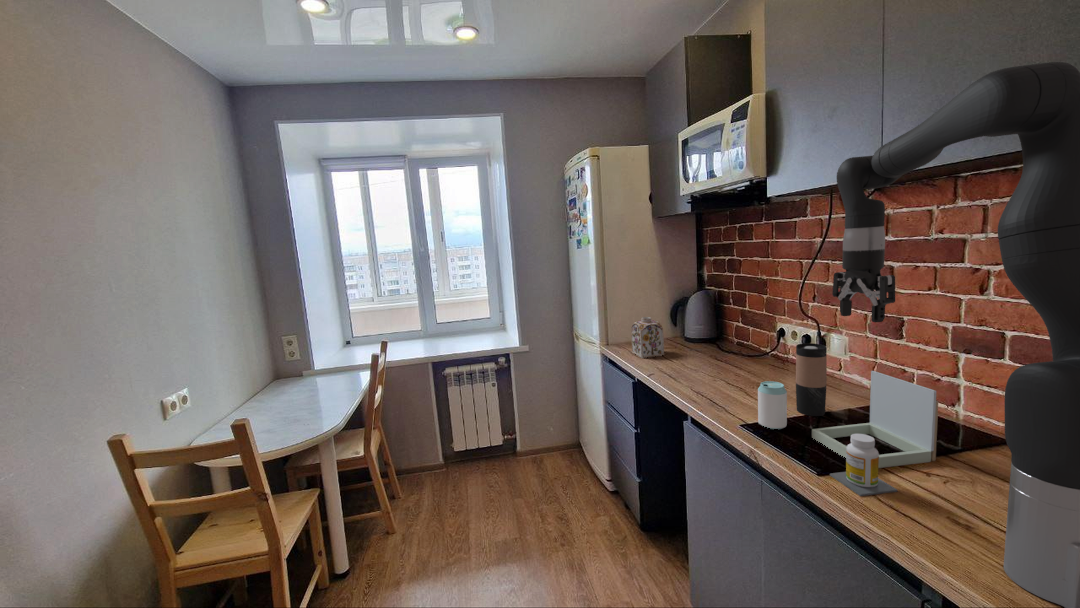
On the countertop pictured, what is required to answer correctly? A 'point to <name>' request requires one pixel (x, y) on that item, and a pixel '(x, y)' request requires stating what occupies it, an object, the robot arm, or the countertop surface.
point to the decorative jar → (647, 338)
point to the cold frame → (894, 422)
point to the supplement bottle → (862, 461)
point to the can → (772, 405)
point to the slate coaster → (864, 491)
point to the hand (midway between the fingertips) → (860, 318)
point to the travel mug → (811, 378)
